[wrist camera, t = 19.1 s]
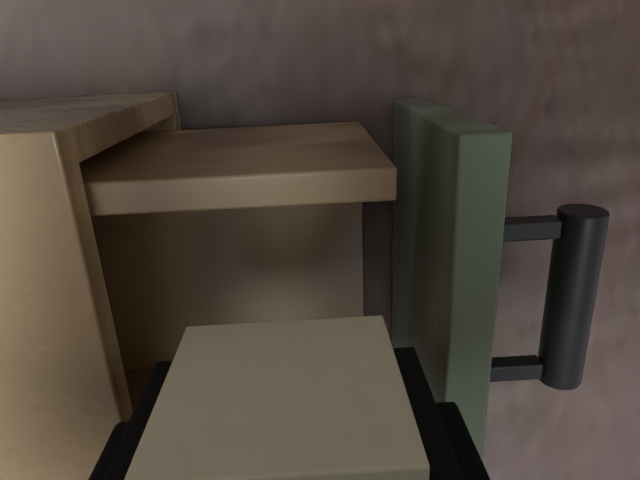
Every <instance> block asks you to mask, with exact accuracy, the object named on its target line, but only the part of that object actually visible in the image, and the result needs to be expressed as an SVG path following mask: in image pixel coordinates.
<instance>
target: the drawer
mask: <svg viewBox="0 0 640 480" xmlns="http://www.w3.org/2000/svg"><path fill="white" fill-rule="evenodd" d="M511 146H512V132H510V131H507V130H504V129H502V128H499V127H497V126H494V125H492V124H489V123H487V122H484V121H482V120H479V119H476V118H474V117H471V116H469V115H466V114H464V113H461V112H459V111H456V110H453V109H451V108H448V107H446V106H443V105H441V104H438V103H436V102H433V101H431V100H428V99H425V98H412V99H396V100H395V101H394V164H393V163H392V162H391V161H390V159H389V158H388V157H387V156H386V154H385V153H384V152H383V151H382V149H381V148H380V147H379V146H378V145H377V143H376V142H375V141H374V140H373V138H372V137H371V136H370V135H369V133H368V132H367V131H366V130H365V128H364V127H363V126H362V125H361V123H360V122H338V123H318V124H297V125H277V126H257V127H236V128H216V129H196V130H175V131H155V132H139V133H137V134H135V135H133V136H131V137H129V138H127V139H125V140H123V141H121V142H119V143H117V144H115V145H113V146H111V147H109V148H107V149H106V150H104V151H102V152H100V153H98V154H96V155H94V156H92V157H90V158H88V159H86V160H84V161H82V162H80V163H79V166H80V170H81V175H82V179H83V184H84V189H85V193H86V198H87V202H88V207H89V212H90V216H91V221H92V225H93V230H94V235H95V239H96V244H97V248H98V253H99V258H100V262H101V267H102V271H103V276H104V281H105V285H106V290H107V294H108V299H109V304H110V308H111V313H112V317H113V322H114V327H115V331H116V336H117V340H118V345H119V350H120V354H121V359H122V363H123V368H124V373H125V377H126V382H127V386H128V391H129V396H130V400H131V405H132V409H133V411H134V409H135V407H136V405H137V403H138V400H139V398H140V396H141V394H142V392H143V389H144V387H145V385H146V383H147V381H148V379H149V376H150V374H151V372H152V370H153V368H154V366H155V364H156V363H157V362H165V361H173V359H174V356H175V354H176V352H177V349H178V347H179V344H180V342H181V339H182V337H183V334H184V332H185V330H186V327H189V326H205V325H222V324H239V323H257V322H274V321H291V320H309V319H326V318H343V317H361V316H365V301H364V226H363V202H375V201H393V280H392V347H393V348H403V347H414V348H415V350H416V353H417V356H418V358H419V361H420V363H421V366H422V369H423V371H424V374H425V376H426V379H427V382H428V384H429V387H430V389H431V392H432V395H433V397H434V400H435V402H436V403H439V402H455V403H456V405H457V406H458V408H459V410H460V413H461V415H462V417H463V419H464V422H465V424H466V426H467V428H468V431H469V433H470V435H471V437H472V440H473V442H474V444H475V446H476V449H477V451H478V453H479V455H480V458H481V460H483V449H484V438H485V427H486V416H487V406H488V395H489V384H490V382H498V381H515V380H532V379H539V380H540V381H541V382H542V383H544V384H545V385H547V386H549V387H552V388H555V389H559V390H572V389H575V388H577V387H578V386H579V385H580V384H581V380H582V374H583V368H584V362H585V356H586V350H587V345H588V339H589V333H590V327H591V321H592V315H593V309H594V304H595V298H596V292H597V286H598V280H599V274H600V268H601V263H602V257H603V251H604V245H605V239H606V233H607V227H608V221H609V216H610V214H609V212H608V211H607V210H606V209H604V208H601V207H598V206H594V205H588V204H566V205H562V206H560V207H558V209H557V214H556V216H554V215H546V216H527V217H508V218H505V211H506V200H507V189H508V179H509V168H510V157H511ZM546 239H553V245H552V252H551V260H550V268H549V275H548V283H547V291H546V298H545V306H544V314H543V321H542V329H541V337H540V344H539V352H538V357H537V356H536V355H528V356H510V357H493V358H492V352H493V341H494V330H495V319H496V308H497V297H498V287H499V276H500V265H501V254H502V243H503V242H508V241H527V240H546Z"/></svg>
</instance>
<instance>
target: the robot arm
mask: <svg viewBox="0 0 640 480" xmlns="http://www.w3.org/2000/svg"><path fill="white" fill-rule="evenodd" d="M393 350H394V354H395V357H396V360H397V363H398V366H399V369H400V373H401V376H402V379H403V382H404V385H405V389H406V392H407V395H408V398H409V401H410V404H411V408H412V411H413V414H414V417H415V420H416V424H417V427H418V430H419V433H420V436H421V440H422V443H423V446H424V449H425V452H426V455H427V459H428V462H429V465H430V474H429V480H490V478H489V476H488V474H487V471H486V469H485V467H484V465H483V462H482V460H481V458H480V455H479V453H478V451H477V449H476V446H475V444H474V442H473V440H472V437H471V435H470V433H469V431H468V428H467V426H466V424H465V422H464V419H463V417H462V415H461V413H460V410H459V408H458V406H457V405H456V403H455V402H439V403H436V402H435V400H434V397H433V395H432V392H431V389H430V387H429V384H428V382H427V379H426V376H425V374H424V371H423V369H422V366H421V363H420V361H419V358H418V356H417V353H416V350H415V348H414V347H403V348H393ZM171 364H172V361H165V362H157V363H156V364H155V366H154V368H153V370H152V372H151V374H150V376H149V379H148V381H147V383H146V385H145V387H144V389H143V392H142V394H141V396H140V398H139V400H138V403H137V405H136V407H135V409H134V411H133V413H132V416H131V418H130V420H129V421H127V422H119V423H118V424H116V426H115V427H114V429H113V431H112V433H111V435H110V437H109V439H108V441H107V443H106V445H105V447H104V449H103V451H102V453H101V455H100V457H99V459H98V461H97V463H96V465H95V467H94V469H93V471H92V473H91V475H90V477H89V479H88V480H124V479H125V476H126V474H127V471H128V469H129V467H130V464H131V462H132V459H133V457H134V454H135V452H136V449H137V447H138V445H139V442H140V440H141V437H142V435H143V432H144V430H145V427H146V425H147V423H148V420H149V418H150V415H151V413H152V410H153V408H154V405H155V403H156V401H157V398H158V396H159V393H160V391H161V388H162V386H163V383H164V381H165V379H166V376H167V374H168V371H169V369H170V366H171Z"/></svg>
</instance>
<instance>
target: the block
mask: <svg viewBox="0 0 640 480" xmlns="http://www.w3.org/2000/svg"><path fill="white" fill-rule="evenodd" d="M429 474H430V465H429V462H428V459H427V455H426V452H425V449H424V446H423V443H422V440H421V436H420V433H419V430H418V427H417V424H416V420H415V417H414V414H413V411H412V408H411V404H410V401H409V398H408V395H407V392H406V389H405V385H404V382H403V379H402V376H401V373H400V369H399V366H398V363H397V360H396V357H395V354H394V350H393V347H392V344H391V341H390V338H389V334H388V331H387V328H386V325H385V322H384V318H383V316H381V315H378V316H361V317H343V318H326V319H309V320H291V321H274V322H257V323H239V324H222V325H205V326H189V327H186V330H185V332H184V334H183V337H182V339H181V342H180V344H179V347H178V349H177V352H176V354H175V356H174V359H173V361H172V364H171V366H170V369H169V371H168V374H167V376H166V379H165V381H164V383H163V386H162V388H161V391H160V393H159V396H158V398H157V401H156V403H155V405H154V408H153V410H152V413H151V415H150V418H149V420H148V423H147V425H146V427H145V430H144V432H143V435H142V437H141V440H140V442H139V445H138V447H137V449H136V452H135V454H134V457H133V459H132V462H131V464H130V467H129V469H128V471H127V474H126V476H125V479H124V480H429Z"/></svg>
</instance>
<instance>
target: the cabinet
mask: <svg viewBox="0 0 640 480" xmlns="http://www.w3.org/2000/svg"><path fill="white" fill-rule="evenodd" d="M175 130H182V129H181V122H180V115H179V108H178V101H177V94H176V91H169V92H148V93H127V94H106V95H85V96H64V97H43V98H22V99H1V100H0V480H88V479H89V477H90V475H91V473H92V471H93V469H94V467H95V465H96V463H97V461H98V459H99V457H100V455H101V453H102V451H103V449H104V447H105V445H106V443H107V441H108V439H109V437H110V435H111V433H112V431H113V429H114V427H115V426H116V424H118V423H119V422H127V421H129V420H130V418H131V416H132V413H133V409H132V405H131V400H130V396H129V391H128V386H127V382H126V377H125V373H124V368H123V363H122V359H121V354H120V350H119V345H118V340H117V336H116V331H115V327H114V322H113V317H112V313H111V308H110V304H109V299H108V294H107V290H106V285H105V281H104V276H103V271H102V267H101V262H100V258H99V253H98V248H97V244H96V239H95V235H94V230H93V225H92V221H91V216H90V212H89V207H88V202H87V198H86V193H85V189H84V184H83V179H82V175H81V170H80V166H79V163H80V162H82V161H84V160H86V159H88V158H90V157H92V156H94V155H96V154H98V153H100V152H102V151H104V150H106V149H107V148H109V147H111V146H113V145H115V144H117V143H119V142H121V141H123V140H125V139H127V138H129V137H131V136H133V135H135V134H137V133H139V132H155V131H175Z"/></svg>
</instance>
